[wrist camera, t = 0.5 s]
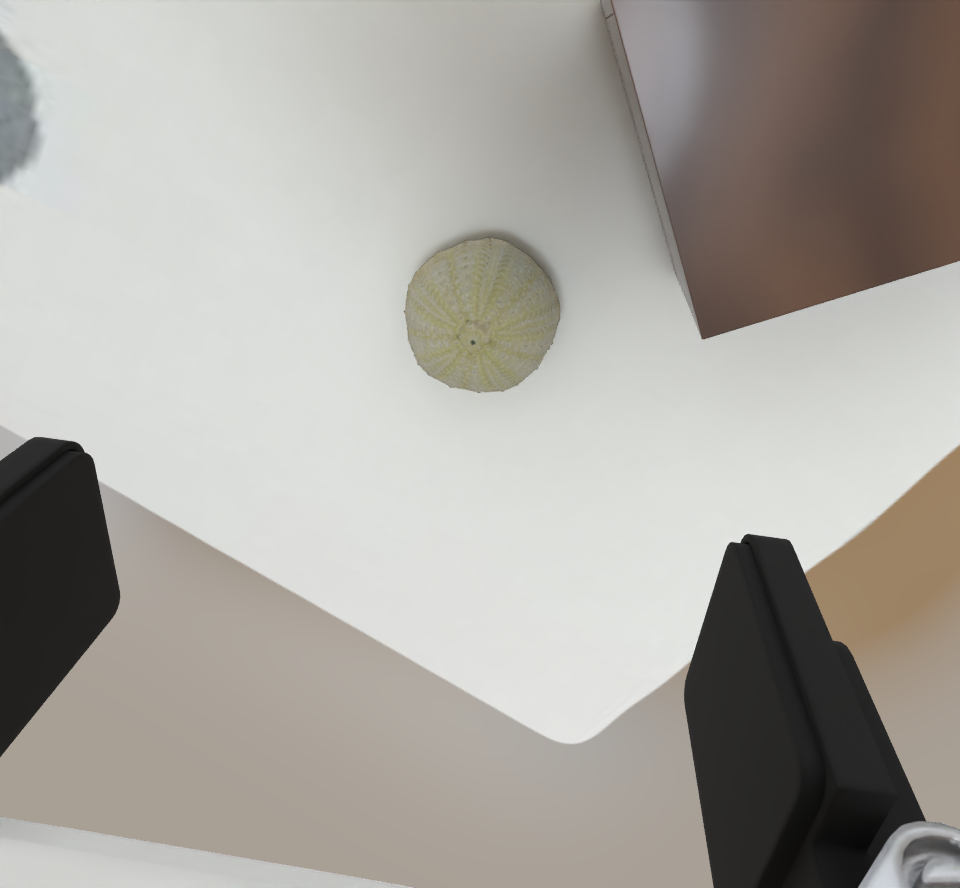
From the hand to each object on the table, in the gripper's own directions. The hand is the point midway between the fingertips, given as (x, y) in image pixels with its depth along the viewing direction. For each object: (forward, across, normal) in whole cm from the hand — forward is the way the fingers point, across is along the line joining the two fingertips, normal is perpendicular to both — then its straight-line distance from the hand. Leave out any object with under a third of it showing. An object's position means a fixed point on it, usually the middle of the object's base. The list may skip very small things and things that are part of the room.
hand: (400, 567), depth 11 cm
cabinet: (+35, -14, -6) cm, 38 cm away
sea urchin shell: (+35, +2, +8) cm, 36 cm away
